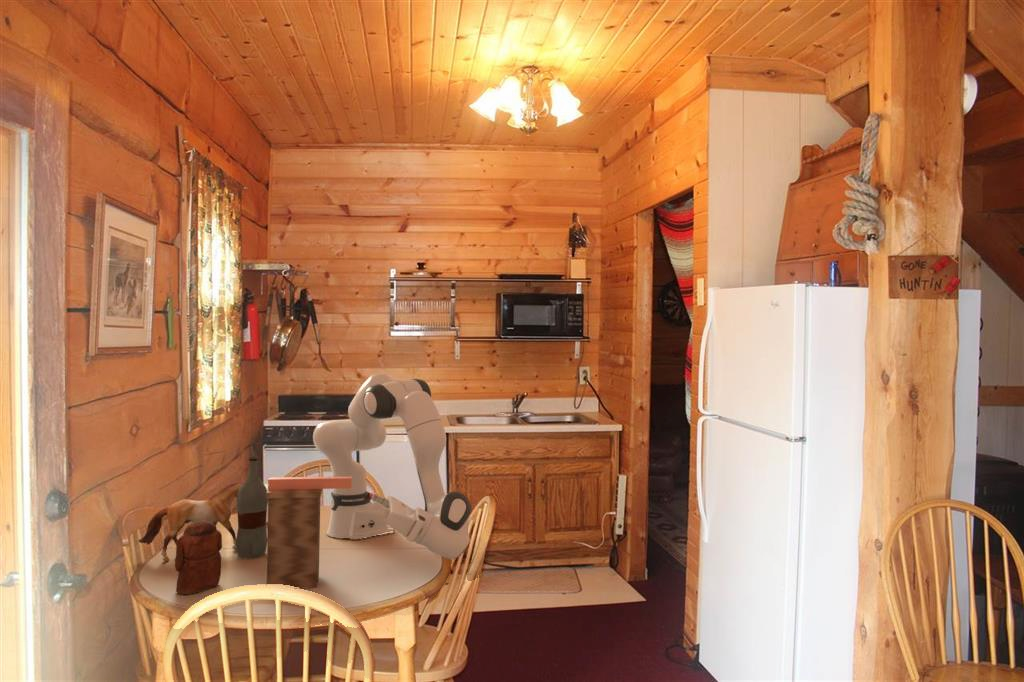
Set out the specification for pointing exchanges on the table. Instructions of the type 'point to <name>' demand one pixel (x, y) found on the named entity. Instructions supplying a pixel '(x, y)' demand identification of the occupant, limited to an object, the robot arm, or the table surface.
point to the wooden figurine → (198, 558)
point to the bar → (309, 483)
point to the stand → (293, 537)
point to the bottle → (252, 515)
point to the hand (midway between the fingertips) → (372, 500)
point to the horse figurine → (194, 515)
